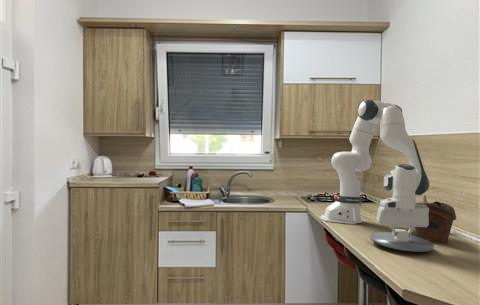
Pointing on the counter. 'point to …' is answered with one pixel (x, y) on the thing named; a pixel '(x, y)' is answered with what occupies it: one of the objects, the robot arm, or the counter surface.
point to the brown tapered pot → (437, 222)
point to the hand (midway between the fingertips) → (401, 235)
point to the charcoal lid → (402, 241)
